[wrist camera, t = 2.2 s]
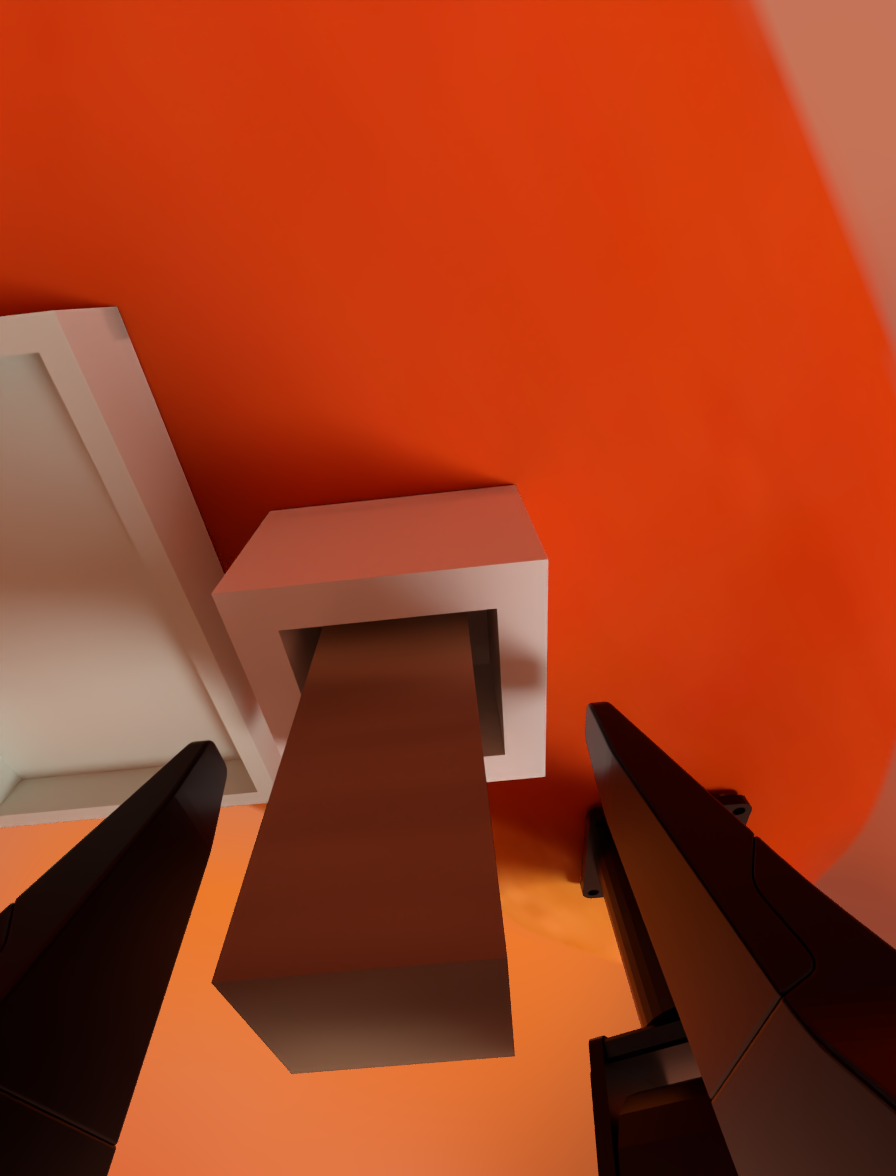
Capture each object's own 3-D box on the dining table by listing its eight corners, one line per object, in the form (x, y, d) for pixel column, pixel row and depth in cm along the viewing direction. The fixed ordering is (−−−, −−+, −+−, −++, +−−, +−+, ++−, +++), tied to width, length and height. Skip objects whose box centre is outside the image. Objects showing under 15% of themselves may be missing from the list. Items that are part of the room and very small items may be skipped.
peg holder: (520, 671, 16) (545, 776, 12) (327, 690, 16) (299, 799, 13) (515, 484, 12) (548, 559, 9) (270, 511, 13) (211, 594, 9)
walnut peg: (469, 650, 14) (515, 1055, 7) (363, 660, 15) (291, 1074, 7) (460, 557, 13) (507, 957, 5) (340, 569, 13) (211, 982, 5)
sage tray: (295, 751, 17) (281, 801, 16) (26, 777, 18) (-16, 829, 16) (117, 306, 10) (53, 310, 8) (-342, 360, 10) (-495, 375, 9)
